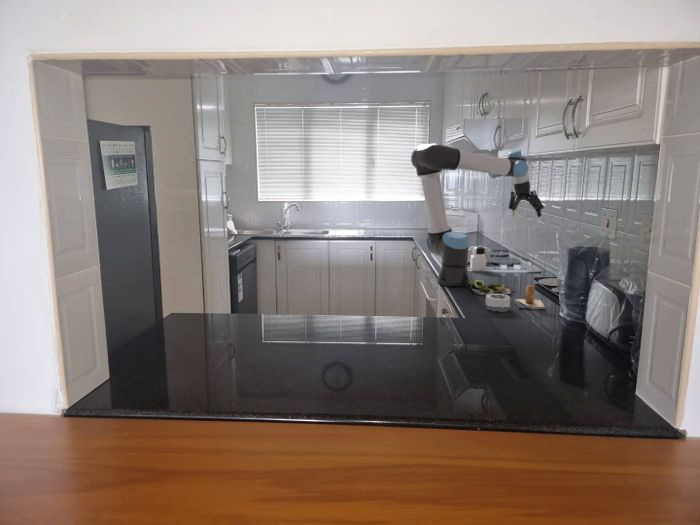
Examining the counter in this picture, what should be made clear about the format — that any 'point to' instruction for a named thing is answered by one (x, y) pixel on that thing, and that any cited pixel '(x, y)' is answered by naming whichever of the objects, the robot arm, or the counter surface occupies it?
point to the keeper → (531, 298)
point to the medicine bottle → (478, 259)
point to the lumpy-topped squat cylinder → (487, 255)
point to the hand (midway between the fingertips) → (528, 222)
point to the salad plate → (489, 287)
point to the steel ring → (497, 300)
